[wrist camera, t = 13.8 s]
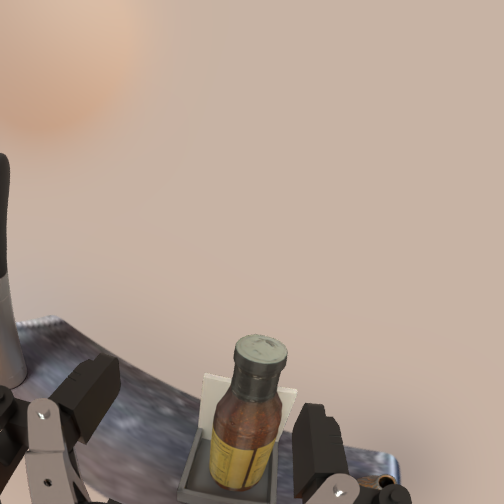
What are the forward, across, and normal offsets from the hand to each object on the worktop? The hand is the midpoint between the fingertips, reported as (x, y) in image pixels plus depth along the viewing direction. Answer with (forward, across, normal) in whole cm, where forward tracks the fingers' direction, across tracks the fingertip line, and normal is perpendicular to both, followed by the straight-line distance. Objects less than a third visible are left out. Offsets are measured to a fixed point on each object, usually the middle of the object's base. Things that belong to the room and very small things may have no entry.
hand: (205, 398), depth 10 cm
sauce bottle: (+9, -4, +23) cm, 25 cm away
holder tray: (+10, -3, +24) cm, 26 cm away
